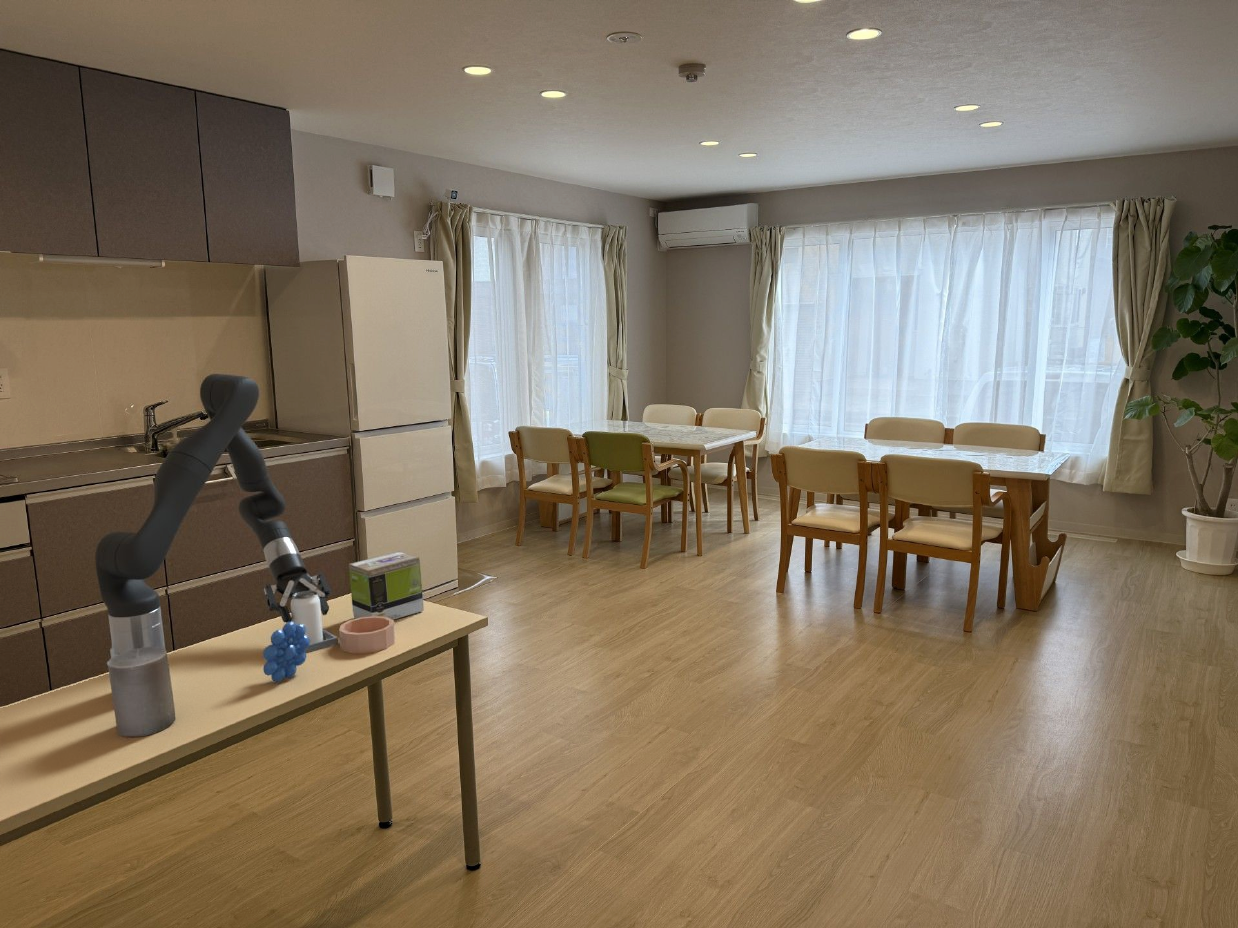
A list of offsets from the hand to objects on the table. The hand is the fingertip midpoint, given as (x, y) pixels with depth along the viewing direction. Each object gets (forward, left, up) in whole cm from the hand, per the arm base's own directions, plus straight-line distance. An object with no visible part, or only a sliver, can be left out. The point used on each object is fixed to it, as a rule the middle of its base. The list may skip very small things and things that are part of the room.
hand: (308, 617), depth 196 cm
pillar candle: (-39, -18, -7) cm, 44 cm away
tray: (0, +1, -7) cm, 7 cm away
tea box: (+23, +6, -7) cm, 25 cm away
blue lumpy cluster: (-11, -15, -7) cm, 20 cm away
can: (0, +1, -7) cm, 7 cm away
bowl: (+10, -9, -7) cm, 15 cm away
